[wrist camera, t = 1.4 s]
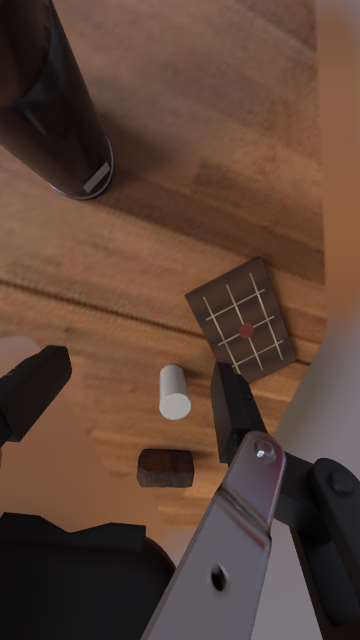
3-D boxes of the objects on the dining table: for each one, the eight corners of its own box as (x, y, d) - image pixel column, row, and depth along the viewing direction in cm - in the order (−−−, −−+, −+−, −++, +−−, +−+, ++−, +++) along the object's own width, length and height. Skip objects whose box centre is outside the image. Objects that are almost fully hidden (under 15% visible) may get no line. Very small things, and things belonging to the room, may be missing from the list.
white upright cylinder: (155, 371, 32) (153, 402, 25) (177, 360, 32) (182, 388, 25) (166, 389, 34) (168, 424, 26) (188, 378, 33) (196, 411, 26)
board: (184, 294, 29) (185, 296, 28) (256, 256, 29) (261, 256, 27) (230, 386, 35) (233, 392, 33) (291, 356, 34) (297, 360, 33)
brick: (191, 448, 38) (195, 472, 33) (188, 463, 39) (191, 488, 34) (139, 447, 36) (136, 472, 32) (138, 463, 37) (134, 489, 33)
